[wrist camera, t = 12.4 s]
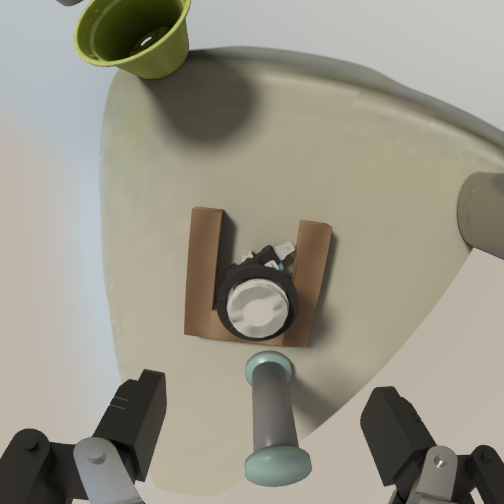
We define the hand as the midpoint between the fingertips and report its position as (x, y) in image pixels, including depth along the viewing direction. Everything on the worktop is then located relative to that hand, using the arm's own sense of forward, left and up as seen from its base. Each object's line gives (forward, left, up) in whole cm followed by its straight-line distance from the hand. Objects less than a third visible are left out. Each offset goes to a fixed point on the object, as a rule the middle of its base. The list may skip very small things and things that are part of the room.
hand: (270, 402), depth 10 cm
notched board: (0, +1, -18) cm, 18 cm away
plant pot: (+12, -20, -18) cm, 29 cm away
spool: (-3, +12, -18) cm, 22 cm away
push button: (0, 0, -18) cm, 18 cm away
